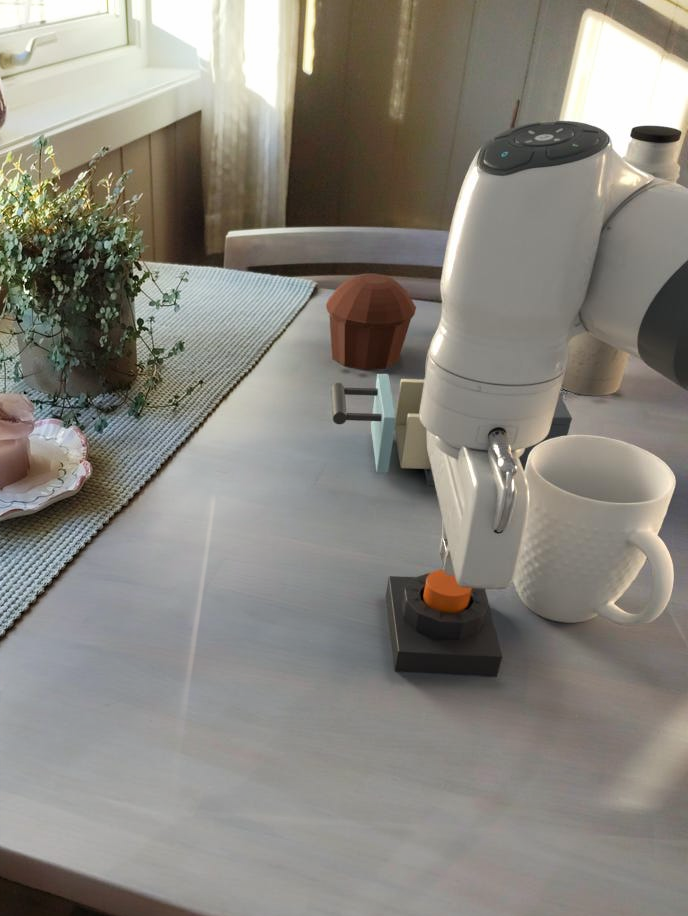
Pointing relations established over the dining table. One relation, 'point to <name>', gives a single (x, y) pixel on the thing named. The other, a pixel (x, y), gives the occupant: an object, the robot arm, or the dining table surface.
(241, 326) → the dining table surface
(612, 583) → the mug
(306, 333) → the dining table surface
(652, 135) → the thermos bottle
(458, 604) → the button
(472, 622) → the control block
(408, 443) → the tray
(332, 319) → the muffin
